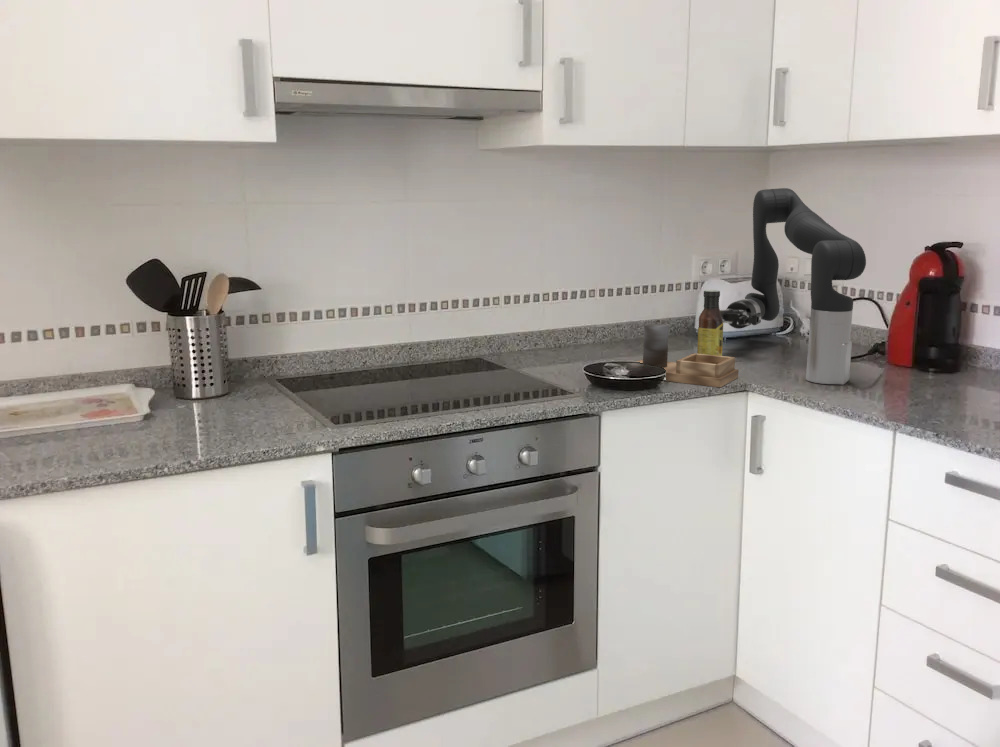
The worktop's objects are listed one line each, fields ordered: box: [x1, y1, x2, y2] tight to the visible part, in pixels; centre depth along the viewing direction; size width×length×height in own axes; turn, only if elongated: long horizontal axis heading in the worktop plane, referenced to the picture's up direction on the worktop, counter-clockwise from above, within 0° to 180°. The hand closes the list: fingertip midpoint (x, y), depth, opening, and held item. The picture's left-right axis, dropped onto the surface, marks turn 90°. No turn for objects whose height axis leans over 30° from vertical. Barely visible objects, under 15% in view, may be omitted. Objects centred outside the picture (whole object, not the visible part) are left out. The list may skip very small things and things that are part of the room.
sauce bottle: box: [696, 289, 724, 356], centre depth 226 cm, size 6×6×20 cm
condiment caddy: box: [636, 323, 739, 388], centre depth 216 cm, size 25×13×12 cm, turn 58°
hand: (724, 320), depth 234 cm, fingers open, 8 cm apart
